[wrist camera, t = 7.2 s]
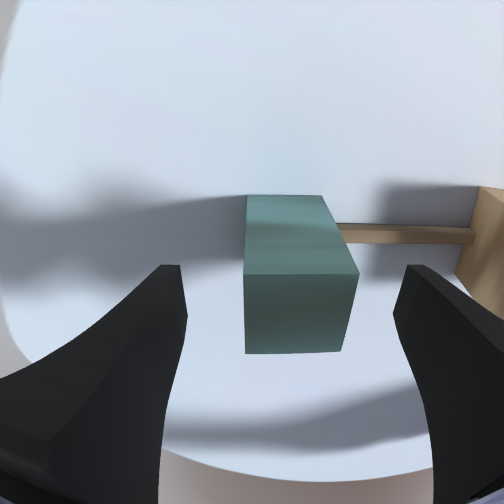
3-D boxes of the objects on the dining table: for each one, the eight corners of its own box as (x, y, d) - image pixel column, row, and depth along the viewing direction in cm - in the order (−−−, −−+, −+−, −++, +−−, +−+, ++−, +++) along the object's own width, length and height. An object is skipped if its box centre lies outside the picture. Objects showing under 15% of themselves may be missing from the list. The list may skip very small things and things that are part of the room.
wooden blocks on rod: (511, 271, 15) (560, 329, 10) (248, 277, 15) (245, 373, 10) (536, 195, 12) (600, 245, 7) (247, 171, 12) (242, 239, 8)
